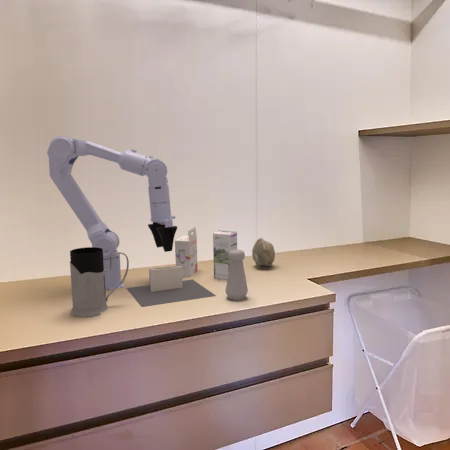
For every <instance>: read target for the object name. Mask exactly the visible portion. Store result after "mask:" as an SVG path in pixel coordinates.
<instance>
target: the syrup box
mask: <svg viewBox="0 0 450 450" xmlns="http://www.w3.org/2000/svg"><path fill="white" fill-rule="evenodd" d="M212 239H213V240H212V246H213V248H212V250H213V251H212V252H213V253H212V254H213V279H214V280H224V281H227V279H228V273H229V267H230V261H231V260H229V259H228V253H229V251H231V250H238V231H236V230H221V229H220V230H217V231H215V232H213V233H212Z"/></svg>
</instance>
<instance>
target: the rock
mask: <svg viewBox="0 0 450 450" xmlns="http://www.w3.org/2000/svg"><path fill="white" fill-rule="evenodd" d="M275 253H276V251H275V248H274V245H273V244H272V243H271V242H269V241H268V240H265V239H263V237H260V238H258V239H256V241H255V243H254V245H253V247H252V251H251V255H252V259H253V261H254V264H255V265H256V266H258V267H266V268H270V267H271V268H272V267H273V266H274V265H273V263H274V261H275V257H276V254H275Z"/></svg>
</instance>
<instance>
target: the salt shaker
mask: <svg viewBox="0 0 450 450" xmlns="http://www.w3.org/2000/svg"><path fill="white" fill-rule="evenodd" d="M245 258H246V254H245V251H244V250H242V249H237V250H231V251H229V253H228V259H229V260H231V261H230V267H229V273H228V279H227V280H226V286H225V289H224V290H225V295H226V296H227V298H228V299H229V300H230V301H235V302H236V301H238V302H239V301H243V300H245V298H246V297H247V294H248V291H249V287H248V284H247V282H248V281H247V278H246V273H245V267H244V261H243V260H245Z"/></svg>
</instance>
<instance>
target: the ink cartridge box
mask: <svg viewBox="0 0 450 450" xmlns="http://www.w3.org/2000/svg"><path fill="white" fill-rule="evenodd" d="M174 253H175V266H182V278H183V277H189V278H190V277H192V276H193V275H194V274H195V273H196V272H197V271H198V236H197V228H196V226H195V227H193V228H191V229H189V230H187V235H182V236H181V237H179V238H177V239H174Z"/></svg>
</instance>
